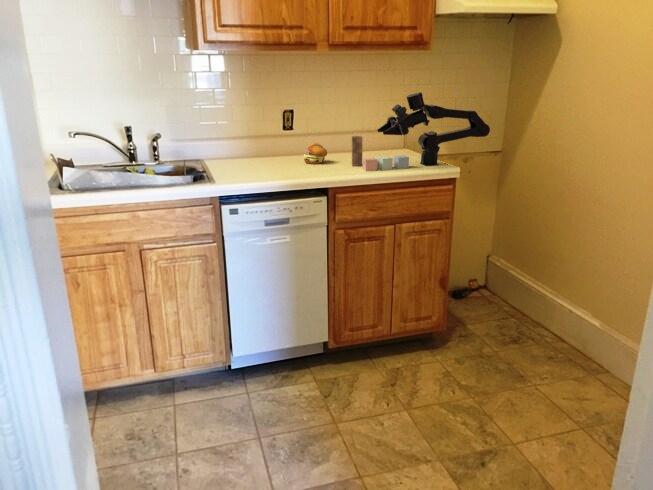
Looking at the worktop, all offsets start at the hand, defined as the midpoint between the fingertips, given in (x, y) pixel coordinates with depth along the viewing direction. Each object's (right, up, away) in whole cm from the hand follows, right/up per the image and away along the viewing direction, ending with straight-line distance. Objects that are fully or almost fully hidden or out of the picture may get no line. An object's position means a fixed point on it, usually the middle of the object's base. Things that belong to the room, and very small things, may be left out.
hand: (380, 132), depth 242 cm
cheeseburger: (-29, -11, +16) cm, 35 cm away
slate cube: (+10, -15, +3) cm, 18 cm away
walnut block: (-10, -13, +9) cm, 19 cm away
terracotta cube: (-5, -17, -1) cm, 17 cm away
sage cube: (+2, -16, +1) cm, 16 cm away
